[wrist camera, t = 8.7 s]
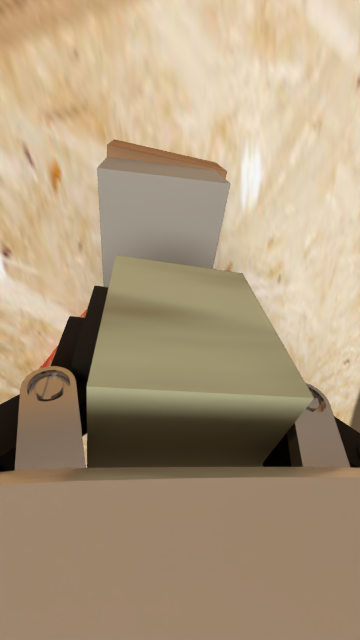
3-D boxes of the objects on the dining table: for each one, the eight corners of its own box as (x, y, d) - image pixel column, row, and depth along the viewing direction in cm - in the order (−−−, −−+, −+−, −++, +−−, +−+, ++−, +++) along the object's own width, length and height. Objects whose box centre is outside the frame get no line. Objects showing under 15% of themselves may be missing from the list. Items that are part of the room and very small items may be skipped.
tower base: (192, 253, 30) (199, 274, 26) (109, 240, 28) (103, 261, 24) (214, 162, 25) (227, 171, 21) (114, 139, 23) (107, 145, 19)
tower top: (198, 265, 26) (207, 293, 22) (111, 259, 24) (103, 287, 20) (214, 170, 21) (230, 183, 17) (107, 156, 20) (97, 168, 16)
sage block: (210, 360, 14) (241, 488, 9) (109, 352, 13) (87, 492, 8) (242, 273, 11) (314, 398, 6) (115, 255, 10) (86, 386, 5)
